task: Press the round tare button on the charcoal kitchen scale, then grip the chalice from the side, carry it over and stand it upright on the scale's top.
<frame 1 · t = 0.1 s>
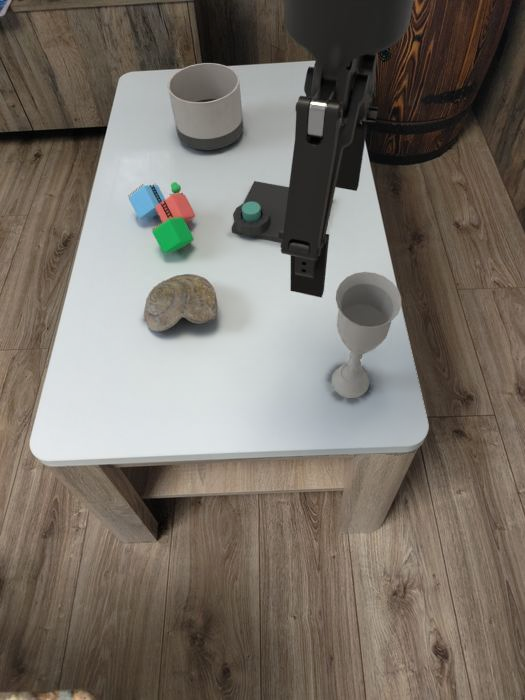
hand: (326, 234, 45), 27 cm above the table, tool pointing down, fingers open, 13 cm apart
tare button: (251, 211, 81), point 3 cm above the table, slide at 0.1 cm
building blocks: (164, 233, 84), on the table
planter: (211, 136, 98), on the table
fossilized seashell: (185, 315, 75), on the table
chalice: (350, 381, 68), on the table
scale: (282, 216, 85), on the table
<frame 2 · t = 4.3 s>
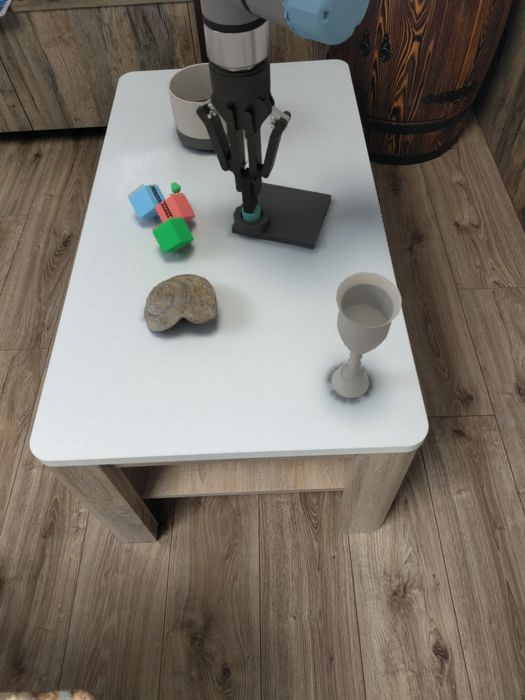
hand: (250, 207, 80), 4 cm above the table, tool pointing down, fingers closed
tare button: (251, 212, 81), point 3 cm above the table, slide at -0.1 cm, touching gripper
everything else where it was.
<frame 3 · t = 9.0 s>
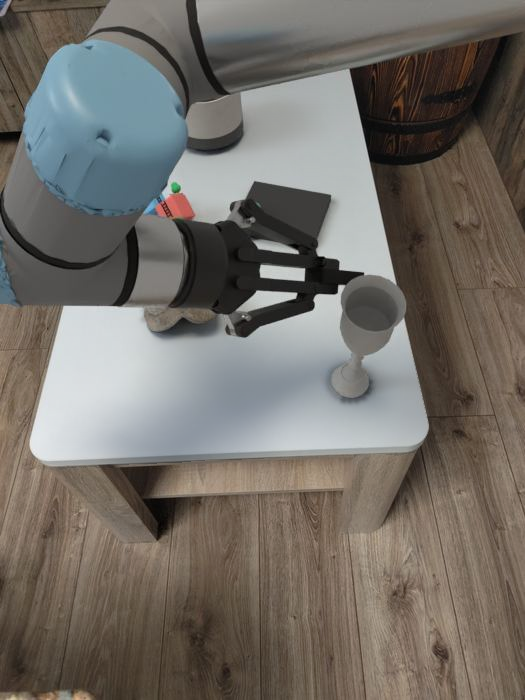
hand: (354, 279, 57), 16 cm above the table, tool tilted 55°, fingers closed
tare button: (251, 211, 81), point 3 cm above the table, slide at 0.1 cm
chalice: (349, 381, 67), on the table, touching gripper
everything else where it was.
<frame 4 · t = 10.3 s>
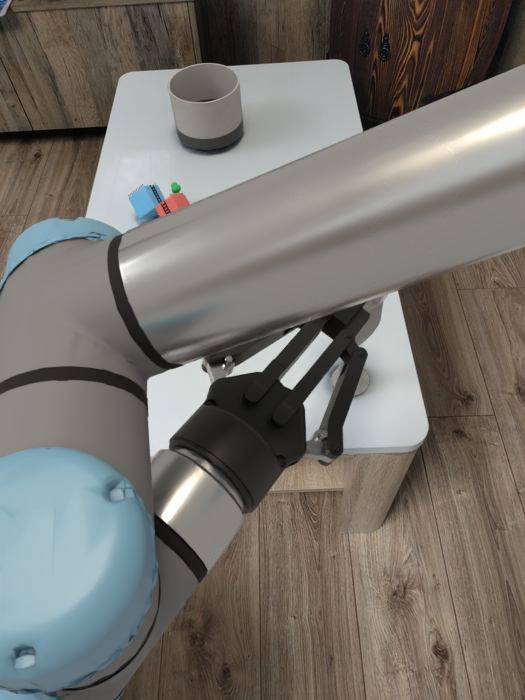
hand: (369, 285, 46), 24 cm above the table, tool horizontal, fingers closed
chalice: (350, 380, 67), on the table
everything else where it was.
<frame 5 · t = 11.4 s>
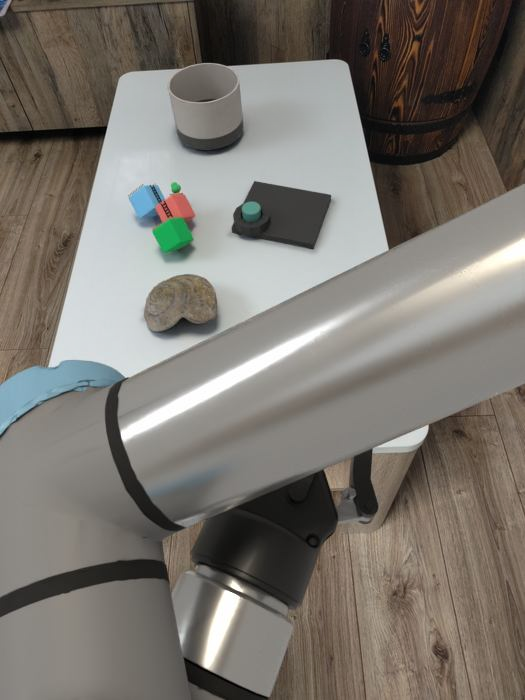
hand: (356, 304, 42), 26 cm above the table, tool horizontal, fingers closed
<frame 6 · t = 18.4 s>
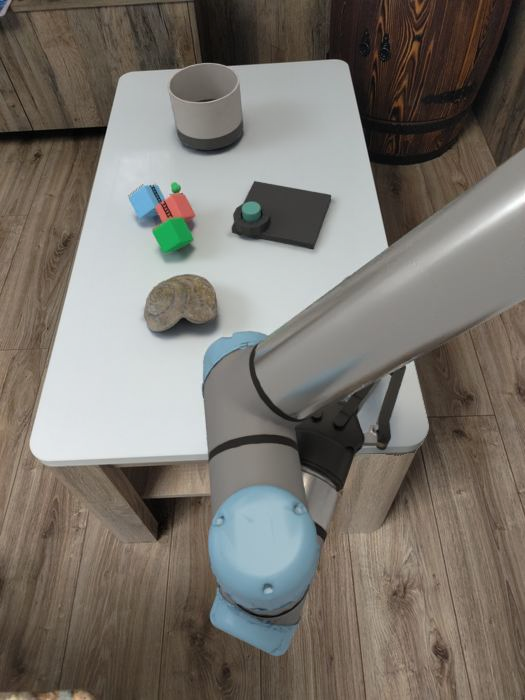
hand: (371, 307, 61), 10 cm above the table, tool horizontal, fingers closed on chalice, 5 cm apart
chalice: (349, 381, 68), on the table, touching gripper
everything else where it was.
when the fingers open (11 cm above the table, at t = 29.6 s): chalice stays where it is, resting on scale.
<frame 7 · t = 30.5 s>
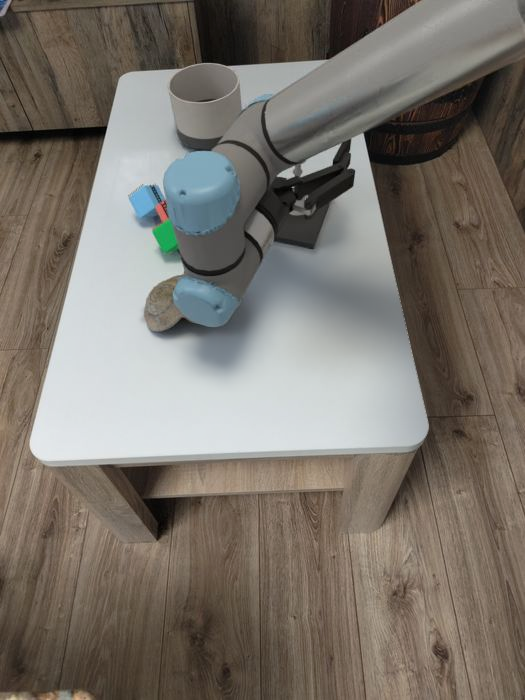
hand: (306, 132, 76), 13 cm above the table, tool horizontal, fingers open, 13 cm apart
chalice: (297, 205, 85), point 1 cm above the table, touching scale
everything else where it was.
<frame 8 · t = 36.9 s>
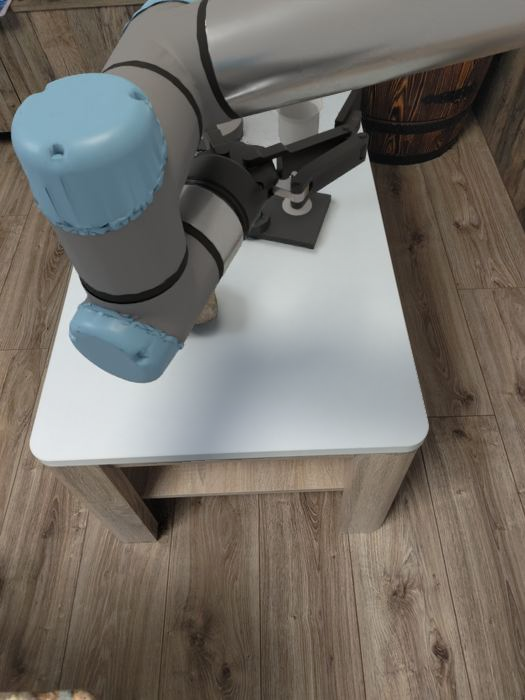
hand: (295, 84, 53), 30 cm above the table, tool horizontal, fingers open, 13 cm apart
nothing on the table moved.
at the end: tare button pushed in 1.0 cm at the most during the clip, back to where it started at the end; chalice touching scale; chalice tilted 0° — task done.
